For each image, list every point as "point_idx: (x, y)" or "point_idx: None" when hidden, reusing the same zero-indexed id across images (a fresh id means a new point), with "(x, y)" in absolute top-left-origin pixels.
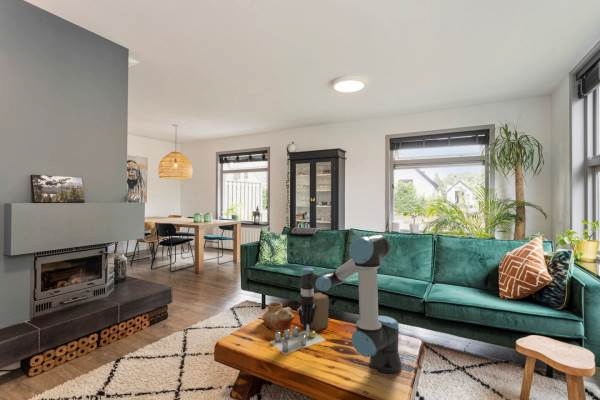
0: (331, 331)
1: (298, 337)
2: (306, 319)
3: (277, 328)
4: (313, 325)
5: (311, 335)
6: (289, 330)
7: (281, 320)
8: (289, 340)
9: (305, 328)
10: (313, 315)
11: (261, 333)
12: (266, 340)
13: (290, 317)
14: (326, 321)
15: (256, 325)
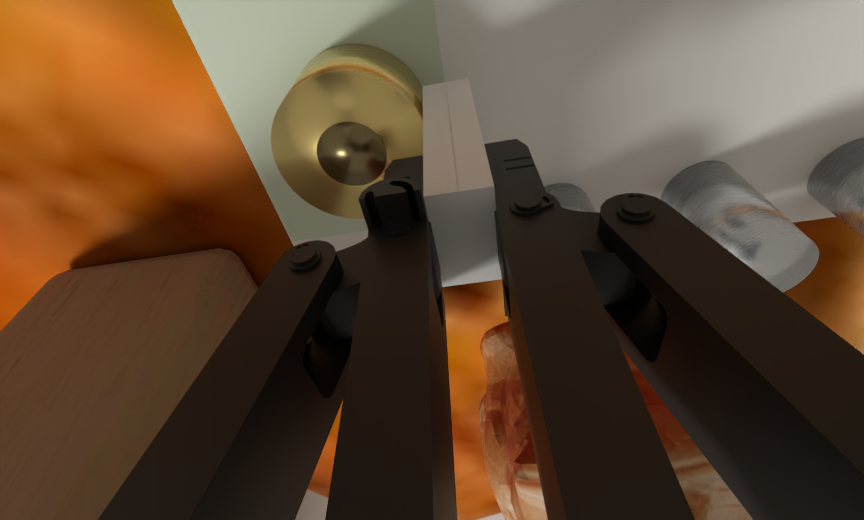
0: (6, 168)
1: (550, 160)
2: (549, 319)
3: None
4: None
5: (381, 67)
6: (748, 246)
7: None
8: (713, 133)
9: (511, 165)
10: (195, 431)
11: None
12: (857, 253)
13: (676, 475)
14: (27, 324)
15: None
